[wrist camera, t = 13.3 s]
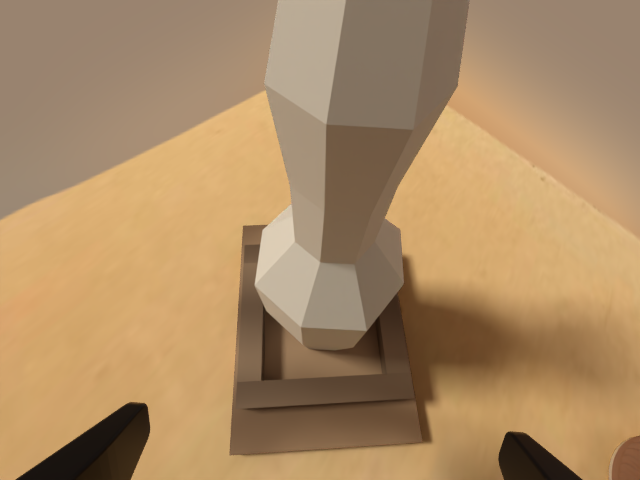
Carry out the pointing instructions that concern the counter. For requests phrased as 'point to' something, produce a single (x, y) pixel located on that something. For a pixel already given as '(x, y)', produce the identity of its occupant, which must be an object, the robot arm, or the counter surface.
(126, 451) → the robot arm
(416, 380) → the counter surface
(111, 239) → the counter surface
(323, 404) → the brown wooden tray
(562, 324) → the counter surface
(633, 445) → the coffee cup
